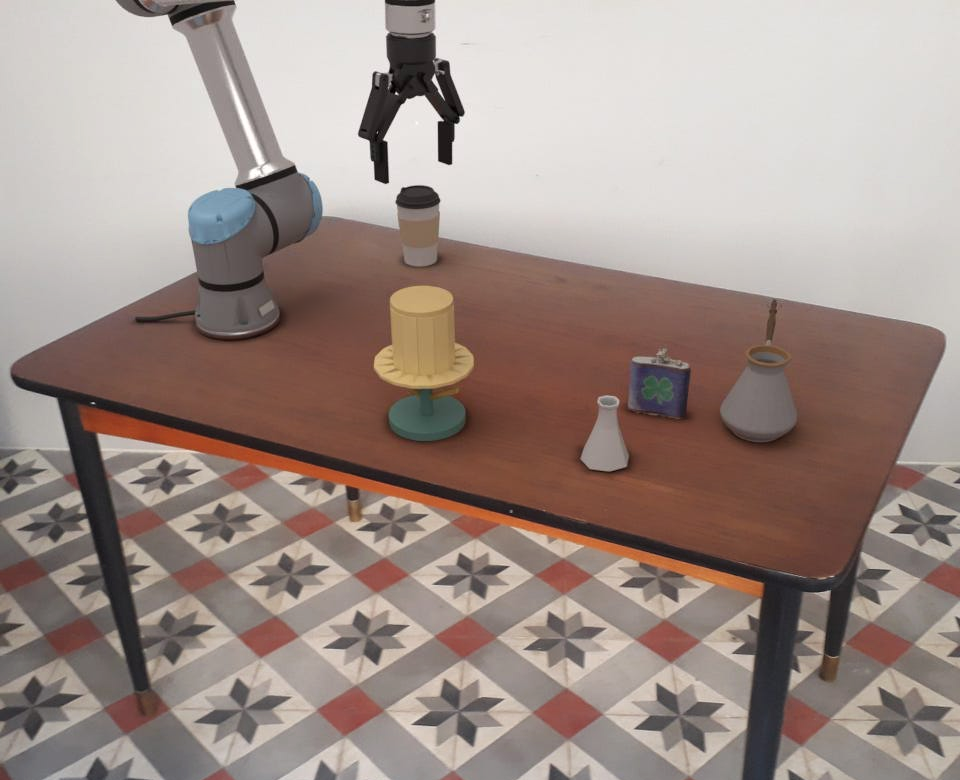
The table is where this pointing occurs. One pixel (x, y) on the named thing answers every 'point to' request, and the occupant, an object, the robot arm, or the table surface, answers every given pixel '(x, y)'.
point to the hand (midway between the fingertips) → (414, 172)
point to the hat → (423, 341)
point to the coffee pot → (761, 393)
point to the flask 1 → (606, 439)
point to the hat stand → (427, 415)
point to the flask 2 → (659, 386)
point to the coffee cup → (419, 224)
